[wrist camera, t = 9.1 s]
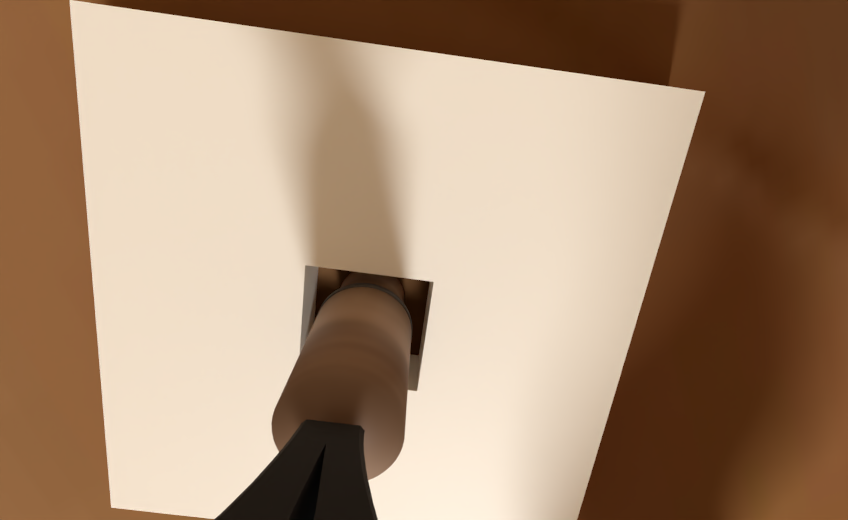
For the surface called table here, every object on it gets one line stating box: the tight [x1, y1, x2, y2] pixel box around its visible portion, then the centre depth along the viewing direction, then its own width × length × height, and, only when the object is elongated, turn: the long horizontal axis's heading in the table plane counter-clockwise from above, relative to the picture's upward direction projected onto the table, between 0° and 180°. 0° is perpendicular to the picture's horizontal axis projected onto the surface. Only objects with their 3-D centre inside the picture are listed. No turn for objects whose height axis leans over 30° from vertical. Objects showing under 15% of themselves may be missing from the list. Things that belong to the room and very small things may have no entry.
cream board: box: [70, 0, 705, 520], centre depth 19 cm, size 18×18×2 cm
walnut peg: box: [271, 272, 412, 480], centre depth 17 cm, size 3×3×8 cm
